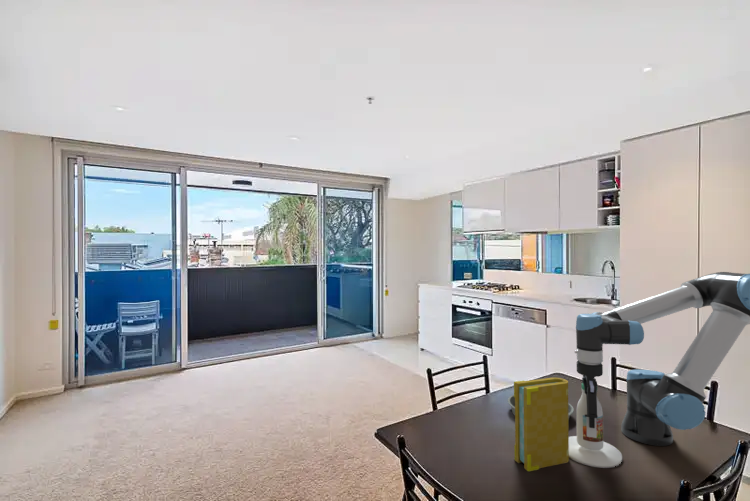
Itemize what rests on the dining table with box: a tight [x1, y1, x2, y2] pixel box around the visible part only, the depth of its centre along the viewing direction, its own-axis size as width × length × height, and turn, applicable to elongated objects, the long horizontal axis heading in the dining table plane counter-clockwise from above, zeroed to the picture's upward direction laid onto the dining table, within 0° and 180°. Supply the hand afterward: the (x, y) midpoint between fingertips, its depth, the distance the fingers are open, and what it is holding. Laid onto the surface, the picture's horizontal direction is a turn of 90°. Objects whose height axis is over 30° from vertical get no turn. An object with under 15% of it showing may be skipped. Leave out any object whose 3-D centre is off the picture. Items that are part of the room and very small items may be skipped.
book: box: [513, 377, 570, 472], centre depth 124 cm, size 17×7×25 cm, turn 106°
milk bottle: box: [575, 382, 604, 450], centre depth 128 cm, size 8×8×20 cm
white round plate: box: [569, 435, 623, 469], centre depth 128 cm, size 18×18×1 cm
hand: (589, 430), depth 128 cm, fingers closed on milk bottle, 8 cm apart
